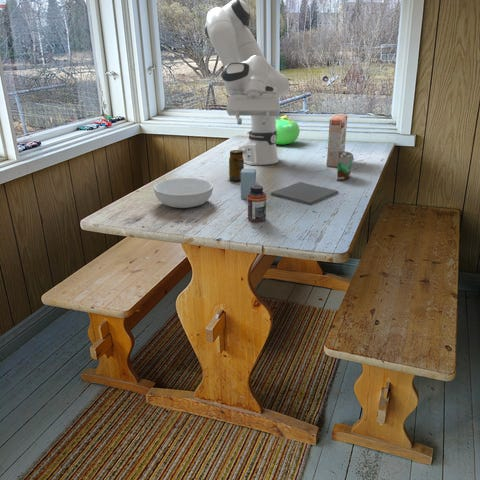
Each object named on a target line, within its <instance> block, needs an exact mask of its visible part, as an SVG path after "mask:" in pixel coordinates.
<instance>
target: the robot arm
mask: <svg viewBox="0 0 480 480" xmlns="http://www.w3.org/2000/svg"><path fill="white" fill-rule="evenodd" d="M205 20H206V23H205V25H204V30H203V31H204V35H206V37H207V39H208V40H209V41H210V42H211V43H210V44H211V45H212V47H213V49H214V51H215V52H216V55H217V57H218V58H219V60H220V62H221V64H222V66H223V68H222V71H221V73H220V74H221V75H220V76H221V79H222V82H223V86H224V87H225V91H226V93H227V105H226V113H227V115H228V116H233V117H234V116H235V118H236V120H237V121H236V123H237V125H242V124H243V121H242V118H241V117H240V116H243V117H245V116H250V118H251V119H250V121H251V125H250V126H251V130H250V131H247V134H246V135H248V138H247V139H246V140H245V141H244V142H242V143H241V144H240V145H239V146H238V148H237V150H241V151H242V152H243V158H244V164H246V165H248V166H249V165H250V166H256V165H259V166H261V165H274V164H276V163H279V161H280V159H279V157H278V155H279V154H278V150H277V144H276V139H277V131H276V118H277V117H278V116H279V115H280V114H281V113H280V112H281V111H280V110H281V108H280V107H281V106H280V99H279V98H281V97H284V96H285V95H287V94H288V93H289V90H290V81H289V78H288V76H287V75H285V74H284V73H282V72H280V71H279V70H277V69H275V67H274V66H272V65H271V63H269V61H268V60H267V59H266V58H265V56H264V54H263V52H262V50H261V48H260V46H259V44H258V41H257V40H256V38H255V36H254V34H252V31H251V30H250V29H249V28H248V27H249V26H250V20H251V11H250V9H249V6H248V4H247V3H246V2H245V1H244V0H230V2H229V3H227V4H225V5H224V6H223V7H214V8H212V9H210V10H208V13H207V15H206V19H205Z"/></svg>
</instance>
